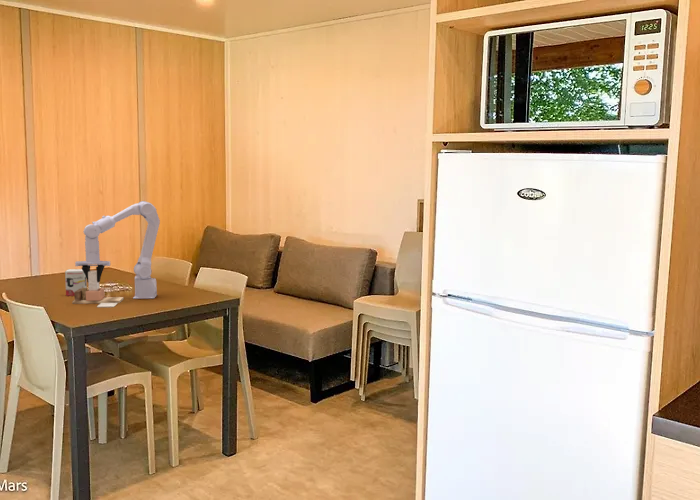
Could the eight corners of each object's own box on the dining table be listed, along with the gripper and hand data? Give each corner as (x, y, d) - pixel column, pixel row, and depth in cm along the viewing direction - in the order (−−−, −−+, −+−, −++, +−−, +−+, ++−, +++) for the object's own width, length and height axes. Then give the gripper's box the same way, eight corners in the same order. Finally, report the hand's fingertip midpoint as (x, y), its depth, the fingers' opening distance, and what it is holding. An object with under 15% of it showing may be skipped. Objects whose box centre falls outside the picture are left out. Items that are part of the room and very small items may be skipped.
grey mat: (117, 303, 290) (117, 302, 290) (113, 307, 283) (113, 306, 283) (101, 303, 289) (101, 303, 289) (96, 307, 282) (96, 306, 282)
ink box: (65, 296, 305) (64, 271, 303) (67, 294, 310) (66, 269, 308) (85, 295, 307) (84, 270, 305) (87, 293, 311) (86, 268, 310)
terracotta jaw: (104, 296, 298) (104, 288, 297) (100, 300, 290) (99, 291, 290) (90, 297, 297) (90, 288, 297) (85, 300, 289) (85, 291, 289)
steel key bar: (99, 290, 295) (98, 270, 294) (97, 291, 292) (96, 271, 290) (91, 290, 295) (90, 270, 294) (88, 291, 291) (87, 271, 290)
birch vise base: (123, 299, 299) (123, 286, 298) (119, 302, 291) (119, 289, 290) (77, 299, 297) (77, 286, 296) (72, 303, 289) (71, 290, 288)
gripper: (72, 253, 286) (74, 283, 288) (107, 252, 288) (108, 283, 290) (77, 250, 293) (78, 281, 295) (111, 250, 295) (112, 280, 296)
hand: (93, 282), depth 293 cm, fingers closed on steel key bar, 4 cm apart
